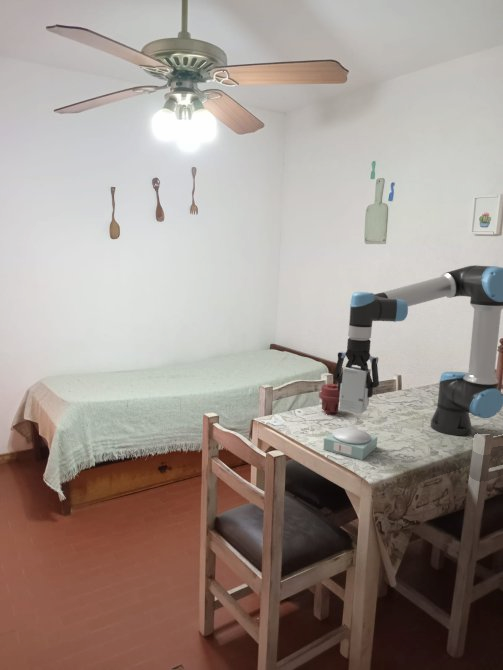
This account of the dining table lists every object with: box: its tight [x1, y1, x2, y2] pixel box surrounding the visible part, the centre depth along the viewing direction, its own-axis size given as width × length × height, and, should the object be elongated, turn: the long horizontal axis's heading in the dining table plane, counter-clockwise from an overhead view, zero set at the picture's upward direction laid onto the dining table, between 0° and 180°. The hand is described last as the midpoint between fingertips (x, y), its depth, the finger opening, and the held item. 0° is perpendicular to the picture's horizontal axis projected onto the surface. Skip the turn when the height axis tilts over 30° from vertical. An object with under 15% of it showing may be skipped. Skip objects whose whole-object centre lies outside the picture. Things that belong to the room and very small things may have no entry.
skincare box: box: [338, 365, 372, 415], centre depth 167 cm, size 8×6×15 cm
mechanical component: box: [318, 383, 340, 416], centre depth 208 cm, size 12×10×10 cm
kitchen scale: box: [323, 427, 379, 461], centre depth 170 cm, size 14×15×5 cm
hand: (353, 403), depth 168 cm, fingers closed on skincare box, 8 cm apart
